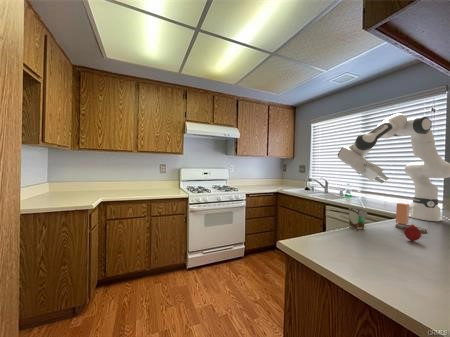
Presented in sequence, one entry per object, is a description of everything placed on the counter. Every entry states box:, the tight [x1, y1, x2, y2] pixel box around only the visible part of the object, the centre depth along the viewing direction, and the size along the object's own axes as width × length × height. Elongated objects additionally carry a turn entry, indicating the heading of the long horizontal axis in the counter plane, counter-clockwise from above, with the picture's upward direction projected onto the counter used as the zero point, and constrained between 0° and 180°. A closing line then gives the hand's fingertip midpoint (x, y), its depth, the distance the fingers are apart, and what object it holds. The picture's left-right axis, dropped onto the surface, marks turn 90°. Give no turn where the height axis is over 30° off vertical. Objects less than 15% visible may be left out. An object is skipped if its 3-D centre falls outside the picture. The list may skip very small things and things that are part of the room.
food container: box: [348, 206, 368, 231], centre depth 110 cm, size 12×6×10 cm, turn 171°
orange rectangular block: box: [395, 202, 410, 225], centre depth 114 cm, size 4×4×12 cm
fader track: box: [394, 223, 428, 234], centre depth 111 cm, size 12×5×2 cm, turn 35°
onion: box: [403, 223, 422, 242], centre depth 93 cm, size 6×6×8 cm
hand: (385, 181), depth 117 cm, fingers open, 8 cm apart
